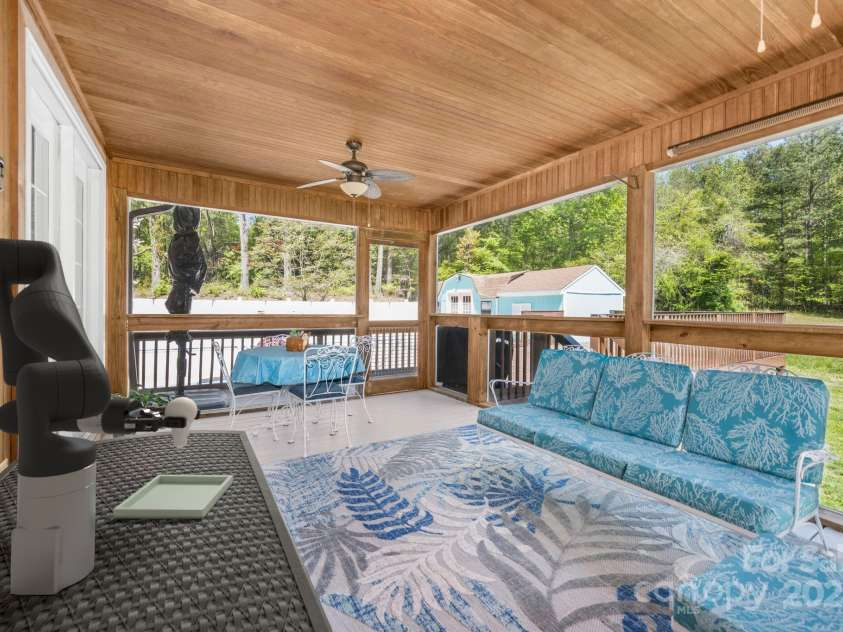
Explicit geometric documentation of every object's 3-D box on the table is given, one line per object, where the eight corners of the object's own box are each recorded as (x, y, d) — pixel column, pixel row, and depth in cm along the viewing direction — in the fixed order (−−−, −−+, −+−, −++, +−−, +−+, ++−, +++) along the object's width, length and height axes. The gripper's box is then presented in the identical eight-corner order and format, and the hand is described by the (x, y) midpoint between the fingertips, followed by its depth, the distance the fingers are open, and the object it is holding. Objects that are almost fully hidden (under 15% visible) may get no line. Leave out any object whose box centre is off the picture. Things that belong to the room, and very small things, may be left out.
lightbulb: (201, 444, 95) (203, 395, 95) (183, 454, 89) (185, 401, 89) (176, 442, 96) (177, 393, 95) (156, 451, 90) (158, 399, 89)
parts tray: (202, 518, 85) (202, 509, 85) (113, 518, 84) (113, 509, 84) (232, 482, 102) (233, 475, 102) (158, 482, 101) (159, 474, 101)
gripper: (87, 406, 84) (177, 409, 85) (131, 391, 98) (207, 393, 100) (86, 444, 84) (176, 446, 85) (130, 423, 99) (206, 425, 100)
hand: (192, 418), depth 93 cm, fingers closed on lightbulb, 6 cm apart
